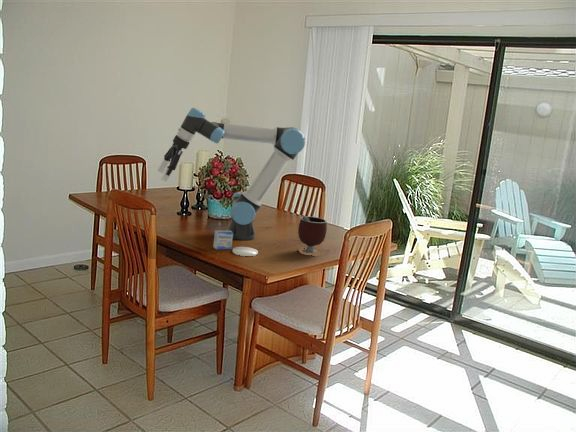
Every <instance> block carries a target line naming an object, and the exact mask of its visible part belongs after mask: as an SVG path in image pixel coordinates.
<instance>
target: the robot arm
mask: <svg viewBox="0 0 576 432" xmlns="http://www.w3.org/2000/svg"><path fill="white" fill-rule="evenodd" d="M177 130H178V131H177V133H176V135H175V136H174V137H173V140H172V145H171V146H170V148H169V149H168V150H167V152H166V153H165V154H164V156H163V157H164V158H163V160H162V162H161V163H160V165H159V167H158V169H157V172H158V173H161V174H163V175H162V177H161V178H160V179H161V180H162V181H163V182H166V183H167V182H168V180H169V178H170V176H171V174H172V173H173V171H175V170H176V168H177V166H178V164H179V161H180V158H181V156H182V155H183V152H184V151H182V150H183V149H184V150H187V148H188V147H189V145H190V142H192V140H193V138H194V137H195V135H196V133H198V134H199V135H201V136H203V137H204V138H206V139H208V140H209V141H211V142H212V143H215V144H219V143H220V142H221V140H223V139H226V140H234V141H242V142H243V141H244V142H249V143H250V142H251V143H260V144H269V145H273V150H274V151H273V152H272V154H271V155H270V156H269V158H268V160H267V161H266V163H265V164H264V166H263V167H262V169H261V170H260V171H259V173H257V176H256V177H255V179H254V180H253V181H252V183H251V185H250V186H249V187H248V189H247V190H246V191H242V192H234V193H233V197H232V206H231V209H230V215H231V218H230V222H229V224H228V227H227V229H226V230H231V231H232V232H233V239H234V240H242V241H248V240H254V239H255V237H256V230H255V226H254V219H255V217H256V214H257V213H258V211H259V210H260V208H261V207H262V201H263V199H264V197H265V196H267V195H266V194H267V193H268V192H269V190H270V189H271V188H272V186H273V184H274V183H275V182H276V180H277V179H278V178H279V176H280V175H281V173H282V172H283V170H284V169H285V167H286V166H287V164H288V163H289V162H291V161H294V160H295V158H296V157H297V155H299V153H300V152H301V151H303V149H304V148H305V145H306V137H305V135H304V133H303V132H302V131H301V130H300V129H298V128H296V127H293V126H292V127H280V126H279V127H277V126H275V128H270V127H269V128H268V127H262V126H261V127H260V126H259V127H258V126H249V125H242V124H241V125H239V124H233V123H223V122H217V121H209V120H208V119H206V114H205V113H204V112H203V111H201V110H200V109H198V108H196V107H191V108H190V110H189V111H188V113H187V114H186V116H185V118H184V120H183V121H182V123H181V125H180V128H179V127H178V128H177ZM164 171H165V172H164Z"/></svg>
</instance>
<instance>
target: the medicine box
mask: <svg viewBox="0 0 576 432" xmlns="http://www.w3.org/2000/svg"><path fill="white" fill-rule="evenodd" d="M233 239H234V238H233V232H232V231H231V230H227V229H217V230H214V236H213V246H212V247H213V248H214V249H215V250H216V251H218V250H219V251H221V250H223V251H224V250H232V249H233V248H232V247H233Z"/></svg>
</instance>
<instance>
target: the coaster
mask: <svg viewBox="0 0 576 432" xmlns="http://www.w3.org/2000/svg"><path fill="white" fill-rule="evenodd" d="M232 254H234V255H236V256H239V255H240V256H239V257H245V256H253V257H256V255H257V254H259V251H258V250H257V249H255V248H253V247H248V246H235V247H233V248H232ZM257 256H258V255H257Z"/></svg>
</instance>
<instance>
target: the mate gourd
mask: <svg viewBox="0 0 576 432" xmlns="http://www.w3.org/2000/svg"><path fill="white" fill-rule="evenodd" d="M327 223H328V221H327V220H326V219H324V218H322V217H319V216H318V217H316V216H306V215H304V214H301V217H300V220H299V223H298V229H297V230H298V239H299V240H300V242H301V243H303V244H305V245H306V247H304V248H305V249H302V251H303V252H306V253H317V251H316V250H317V249H316V250H314V249H315V248H314V247H315V246H319V245H321V244H322V242H325V239H326V234H327V229H328V226H327V225H328V224H327Z"/></svg>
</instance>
